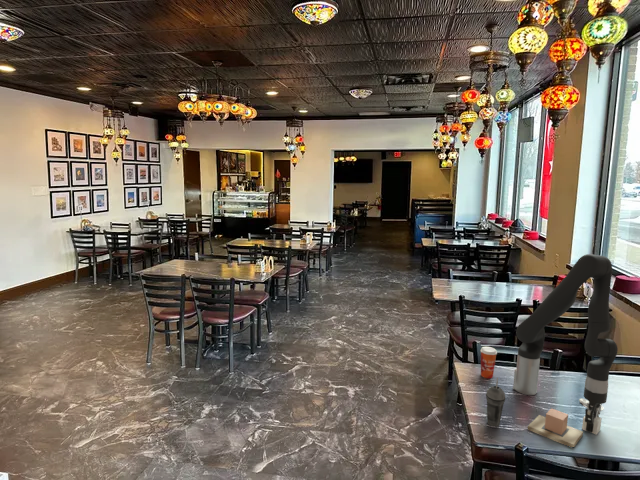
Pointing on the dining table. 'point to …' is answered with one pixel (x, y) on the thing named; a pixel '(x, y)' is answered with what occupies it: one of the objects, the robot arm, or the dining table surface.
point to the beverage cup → (494, 404)
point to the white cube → (596, 425)
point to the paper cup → (487, 361)
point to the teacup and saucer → (587, 402)
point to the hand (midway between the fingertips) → (591, 428)
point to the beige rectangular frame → (567, 438)
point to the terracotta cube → (556, 421)
